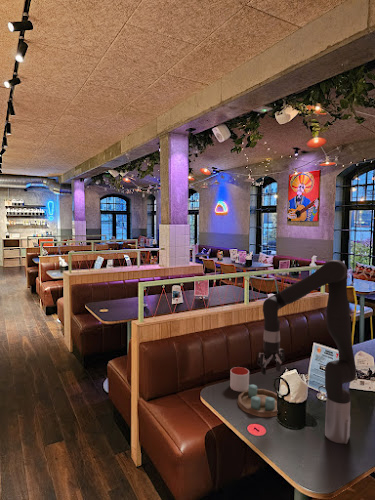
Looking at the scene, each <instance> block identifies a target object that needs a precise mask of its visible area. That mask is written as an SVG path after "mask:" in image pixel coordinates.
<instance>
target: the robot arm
mask: <svg viewBox="0 0 375 500" xmlns="http://www.w3.org/2000/svg"><path fill="white" fill-rule="evenodd" d="M347 284H348V267H347V265H346V263H344V262H343V261H341V260H340V259H331V260H328V261H326V262H325V263H324V264H323V265H321V266H320V267H319V268H318V269H316V270H315V271H314V272H313V273H311V274H310V275H308V276H306V277H305V278H303V279H300V280H299V281H296V282H294V283H293V284H291V285H289V286H288V287H285V288H284V289H282V290H281V291H280V292H277V293H275V294H273V295H271V296H269V297H267V298H266V299H265V300H263V304H262V314H263V320H264V321H263V322H264V323H263V325H264V327H263V328H264V329H263V337H262V338H263V342H262V343H263V346H262V348H263V352H257V362H256V363H257V364H256V365H257V366H259V367H260V373H261V375H263V376H266V375H267V365H268V364H269V363H270V362H272V361H276V362H275V370H276V371H277V372H281V369H282V363H283V362H285V361H286V360H285V359H286V358H285V357H286V355H285V349H283V348H281V333H280V331H281V329H280V327H281V320H280V319H279V315H278V312H279V310H280V309H282V308H284V307H285V306H288V305H290V304H291V305H292V304H293V303H295V302H297V301H298V300H301V299H303V298H305V297H306V296H308V294H310V293H312V292H313V291H315V290H318V288H321V287H323V286H326V285H327V287H328V288H327V289H328V297H327V302H326V303H327V304H326V310H325V311H326V328H327V331H328V333H329V335H330V336H331V338H332V339H333V341H334V343H335V344H336V347H337V351H338V359H337V360H331V361H328V362H327V363H326V364H325V368H324V388H325V392H326V399H325V401H326V402H325V403H326V404H325V419H324V422H325V423H324V424H325V425H324V435H325V437H326V438H327V440H329V441H331V442H333V443H337V444H345V445H347V444H348V442H349V439H350V433H351V414H350V413H351V392H350V391H348V390H347V389H346V388H343V384H347V383H351V382H353V381H355V379H356V377H357V367H356V361H355V355H354V350H353V349H354V348H353V341H352V328H351V326H352V324H351V314H350V306H349V305H350V304H349V298H348V285H347Z"/></svg>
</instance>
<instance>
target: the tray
mask: <svg viewBox="0 0 375 500" xmlns="http://www.w3.org/2000/svg"><path fill="white" fill-rule="evenodd" d="M277 394H278V393H276V392H275V391H272V390H268V389H265V388H257V397H259V398H260V411H258V410H255V409H252V408H251V398H249V397H248V390H245V391H242V392H241V393H240V394H239V395H238V397H237V405H238V407H239V408H240V409H241V410H242V411H244V412H245V413H248V414H250V415H253V416H257V417H261V418H262V417H263V418H269V417H270V418H271V417H276V416H278V415H277V412H278V410H277ZM266 397H272V398H274V399H275V410H271V411H265V398H266Z"/></svg>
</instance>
